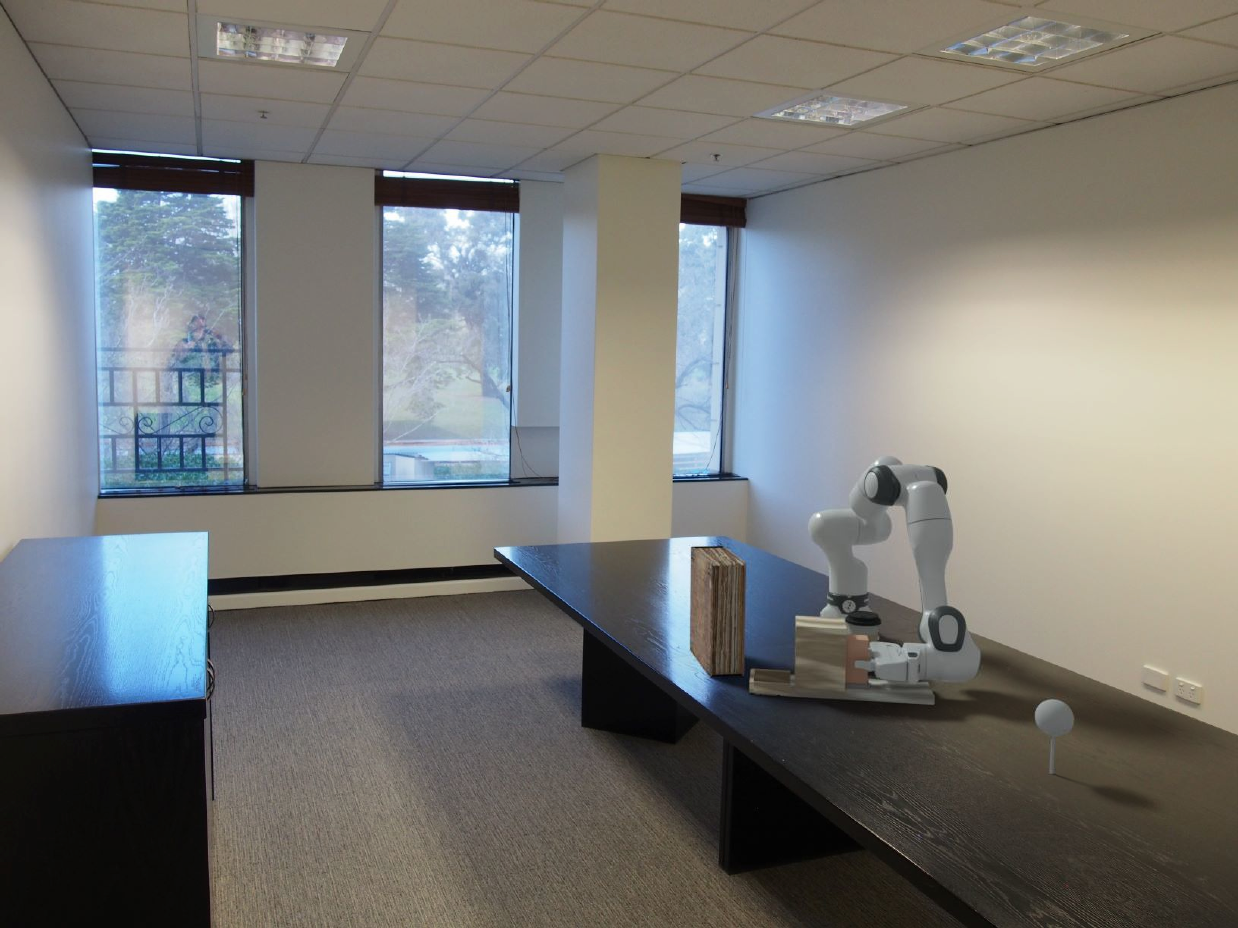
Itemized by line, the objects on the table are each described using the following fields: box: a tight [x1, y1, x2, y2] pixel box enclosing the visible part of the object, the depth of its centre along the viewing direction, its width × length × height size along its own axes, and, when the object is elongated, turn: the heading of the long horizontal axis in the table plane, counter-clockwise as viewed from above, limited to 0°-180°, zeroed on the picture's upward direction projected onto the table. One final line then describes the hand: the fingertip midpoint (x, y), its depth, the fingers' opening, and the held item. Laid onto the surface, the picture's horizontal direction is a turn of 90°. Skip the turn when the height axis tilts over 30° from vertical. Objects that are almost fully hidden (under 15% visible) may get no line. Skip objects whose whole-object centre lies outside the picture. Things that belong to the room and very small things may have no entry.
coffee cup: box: [845, 611, 882, 673], centre depth 263 cm, size 9×9×15 cm
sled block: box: [845, 634, 870, 689], centre depth 244 cm, size 6×12×12 cm, turn 81°
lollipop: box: [1034, 699, 1075, 775], centre depth 196 cm, size 7×7×15 cm
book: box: [689, 545, 747, 678], centre depth 267 cm, size 25×9×30 cm, turn 8°
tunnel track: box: [748, 615, 936, 705], centre depth 244 cm, size 11×44×18 cm, turn 81°
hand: (853, 657), depth 244 cm, fingers open, 8 cm apart
